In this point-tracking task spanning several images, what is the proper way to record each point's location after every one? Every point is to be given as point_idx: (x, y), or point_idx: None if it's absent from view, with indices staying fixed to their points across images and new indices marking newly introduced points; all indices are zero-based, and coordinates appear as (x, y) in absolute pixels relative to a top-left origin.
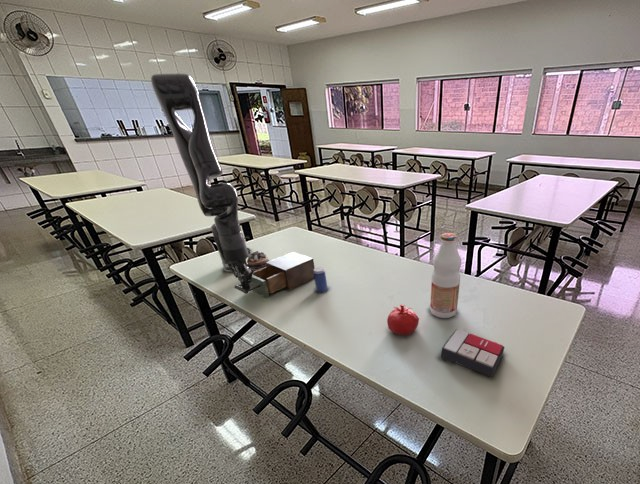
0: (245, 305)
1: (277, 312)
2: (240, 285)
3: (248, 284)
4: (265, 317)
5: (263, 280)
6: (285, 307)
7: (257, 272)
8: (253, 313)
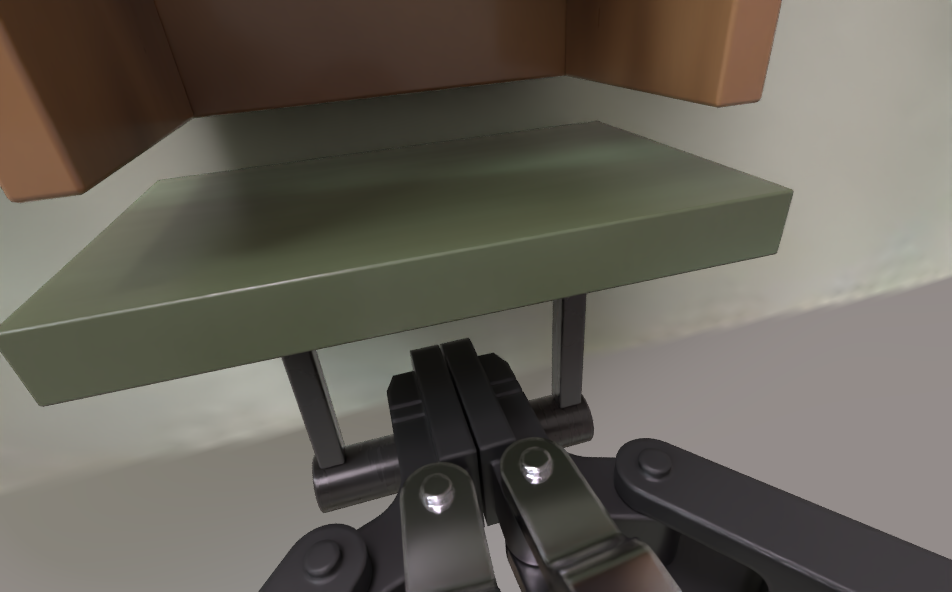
0: (493, 351)
1: (823, 194)
2: (340, 442)
3: (526, 402)
4: (781, 294)
5: (760, 219)
6: (844, 92)
7: (33, 34)
8: (661, 340)
